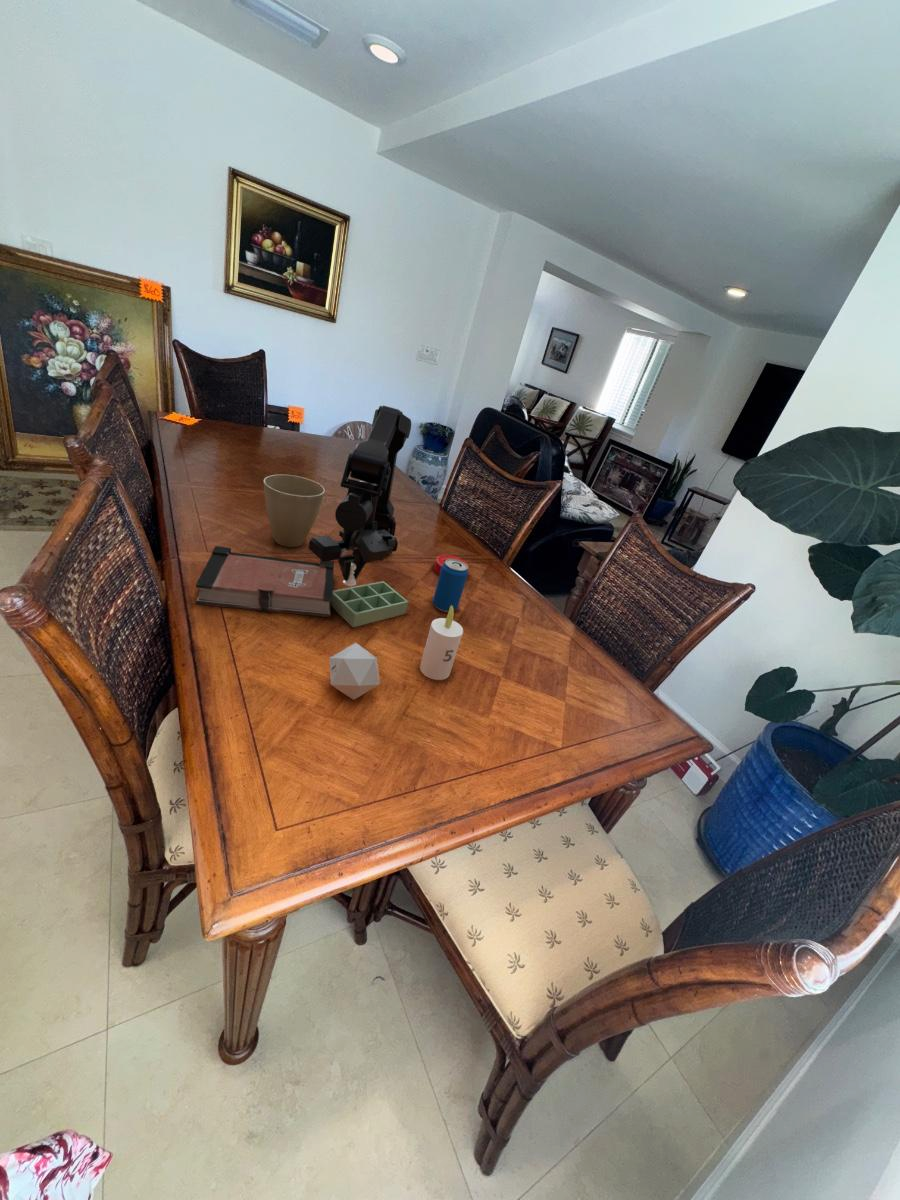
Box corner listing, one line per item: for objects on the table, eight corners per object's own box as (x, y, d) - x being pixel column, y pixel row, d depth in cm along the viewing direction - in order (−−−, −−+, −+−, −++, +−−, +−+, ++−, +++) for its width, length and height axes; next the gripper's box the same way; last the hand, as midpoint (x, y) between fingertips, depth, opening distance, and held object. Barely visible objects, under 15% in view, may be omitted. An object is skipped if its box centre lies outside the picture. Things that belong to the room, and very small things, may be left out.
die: (340, 668, 92) (317, 643, 84) (385, 656, 91) (366, 630, 83) (342, 710, 87) (319, 688, 79) (390, 697, 86) (371, 674, 78)
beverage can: (460, 606, 123) (472, 564, 117) (452, 616, 117) (464, 573, 111) (437, 597, 124) (448, 555, 118) (428, 607, 118) (439, 564, 112)
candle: (426, 682, 93) (444, 618, 86) (415, 660, 98) (431, 598, 91) (455, 679, 96) (475, 617, 89) (443, 659, 101) (461, 598, 94)
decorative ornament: (431, 562, 141) (433, 552, 139) (462, 566, 144) (465, 557, 142) (436, 578, 133) (439, 567, 131) (469, 582, 136) (472, 572, 134)
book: (195, 605, 96) (194, 584, 94) (215, 565, 111) (215, 546, 108) (329, 618, 103) (332, 599, 101) (331, 579, 118) (334, 561, 115)
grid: (328, 604, 109) (330, 591, 107) (381, 593, 118) (383, 581, 117) (352, 627, 103) (355, 614, 101) (405, 613, 113) (408, 601, 111)
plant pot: (274, 556, 121) (279, 496, 113) (250, 531, 129) (253, 474, 122) (328, 551, 131) (335, 495, 123) (302, 527, 139) (308, 474, 132)
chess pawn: (356, 581, 107) (360, 561, 105) (355, 587, 105) (358, 567, 102) (344, 578, 107) (347, 559, 104) (342, 585, 104) (345, 564, 102)
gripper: (342, 534, 87) (331, 606, 95) (420, 526, 100) (405, 590, 107) (311, 509, 93) (303, 579, 101) (388, 504, 106) (376, 566, 113)
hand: (349, 579), depth 105 cm, fingers closed on chess pawn, 2 cm apart
